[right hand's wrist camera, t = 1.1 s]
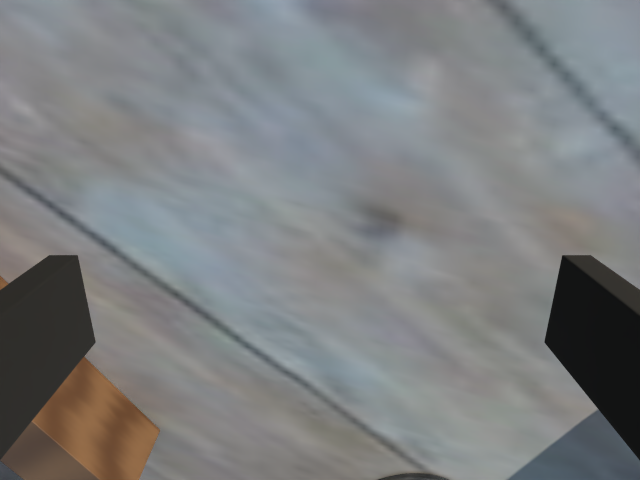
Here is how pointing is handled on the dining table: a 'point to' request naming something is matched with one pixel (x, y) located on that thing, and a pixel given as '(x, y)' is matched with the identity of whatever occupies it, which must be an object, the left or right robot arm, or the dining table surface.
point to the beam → (83, 433)
